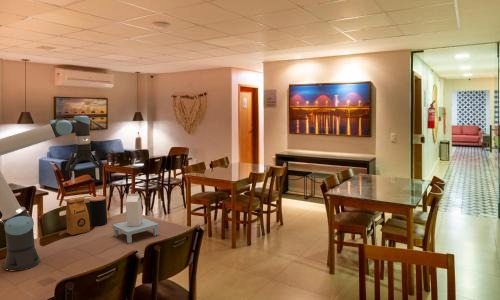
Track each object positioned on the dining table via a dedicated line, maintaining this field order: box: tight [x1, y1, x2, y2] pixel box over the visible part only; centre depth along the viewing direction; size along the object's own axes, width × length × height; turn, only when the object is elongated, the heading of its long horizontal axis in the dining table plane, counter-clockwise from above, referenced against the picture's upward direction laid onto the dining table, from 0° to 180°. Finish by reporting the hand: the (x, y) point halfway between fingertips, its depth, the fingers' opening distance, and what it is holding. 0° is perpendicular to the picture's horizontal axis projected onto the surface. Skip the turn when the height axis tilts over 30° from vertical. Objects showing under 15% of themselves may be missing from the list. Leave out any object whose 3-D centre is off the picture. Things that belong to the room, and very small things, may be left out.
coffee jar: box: [88, 195, 108, 227], centre depth 246 cm, size 11×11×18 cm
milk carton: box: [125, 193, 143, 226], centre depth 221 cm, size 7×7×19 cm
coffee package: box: [65, 197, 91, 236], centre depth 229 cm, size 10×12×22 cm
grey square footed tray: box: [111, 217, 160, 244], centre depth 222 cm, size 20×20×7 cm
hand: (85, 181), depth 206 cm, fingers open, 13 cm apart
